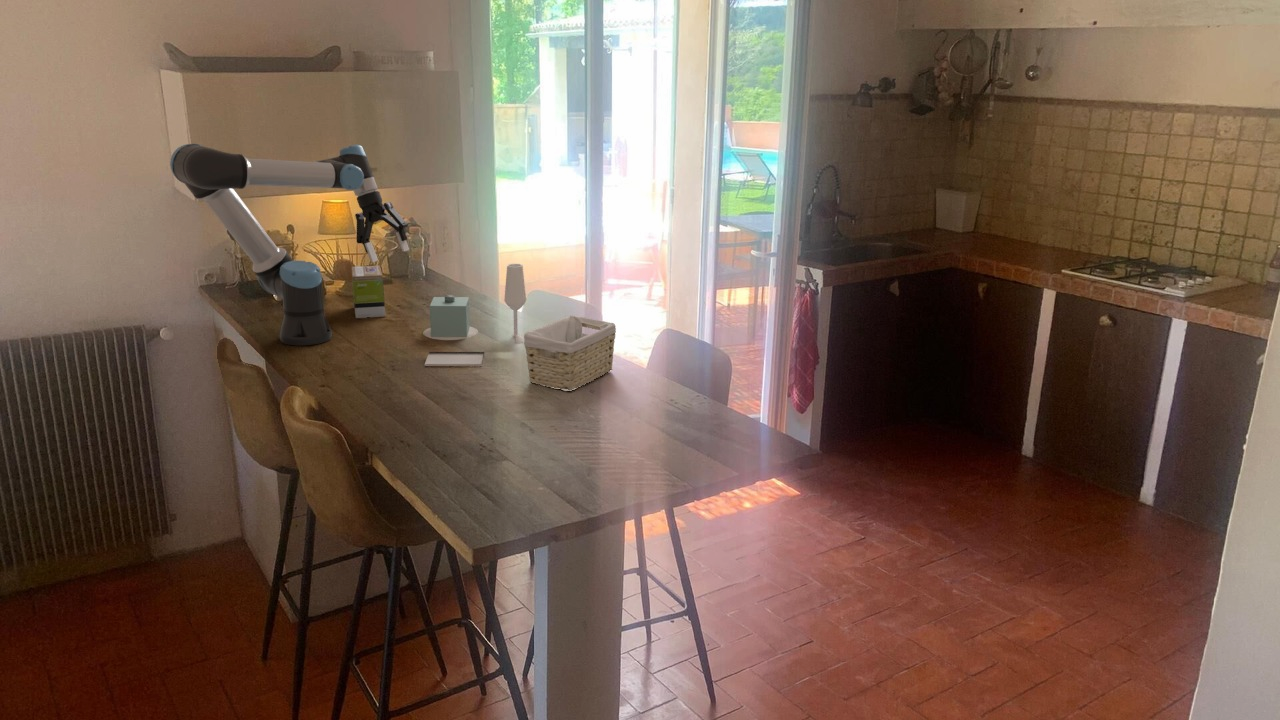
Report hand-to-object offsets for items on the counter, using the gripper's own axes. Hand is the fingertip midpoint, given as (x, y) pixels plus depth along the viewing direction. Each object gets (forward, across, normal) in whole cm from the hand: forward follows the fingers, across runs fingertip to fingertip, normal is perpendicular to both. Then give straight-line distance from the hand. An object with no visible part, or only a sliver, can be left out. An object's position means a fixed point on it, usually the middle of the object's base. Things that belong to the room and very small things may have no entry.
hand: (390, 256), depth 309 cm
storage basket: (+48, -66, +25) cm, 85 cm away
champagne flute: (+37, -36, +1) cm, 52 cm away
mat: (+34, -30, +25) cm, 52 cm away
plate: (+30, -18, +7) cm, 35 cm away
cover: (+28, -18, +7) cm, 35 cm away
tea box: (+16, +20, -4) cm, 26 cm away
